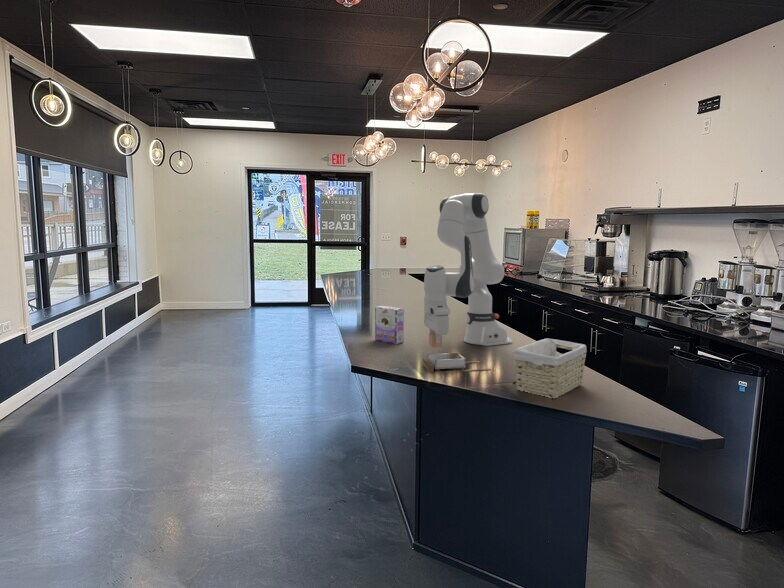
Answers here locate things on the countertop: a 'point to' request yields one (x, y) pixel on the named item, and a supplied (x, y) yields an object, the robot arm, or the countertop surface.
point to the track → (431, 369)
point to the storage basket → (549, 367)
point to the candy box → (389, 324)
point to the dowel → (453, 355)
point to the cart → (446, 361)
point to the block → (432, 340)
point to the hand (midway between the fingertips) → (435, 341)
